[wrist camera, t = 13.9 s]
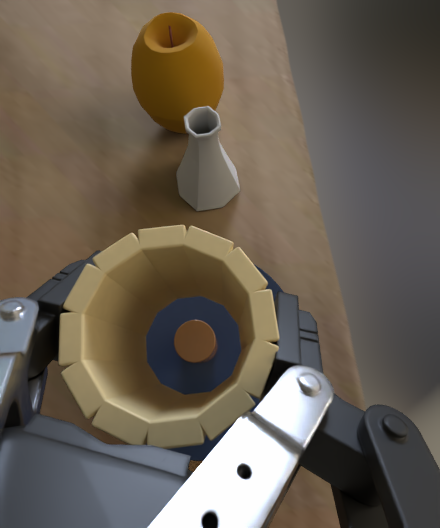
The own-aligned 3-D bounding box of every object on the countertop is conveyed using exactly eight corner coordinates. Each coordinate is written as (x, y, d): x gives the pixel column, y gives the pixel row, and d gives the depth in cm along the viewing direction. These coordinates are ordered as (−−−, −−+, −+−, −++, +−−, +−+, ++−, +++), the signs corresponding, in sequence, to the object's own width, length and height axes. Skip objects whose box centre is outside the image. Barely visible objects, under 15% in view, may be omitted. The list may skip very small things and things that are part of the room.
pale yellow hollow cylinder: (177, 438, 15) (132, 506, 8) (110, 330, 16) (19, 304, 9) (279, 356, 16) (323, 350, 9) (207, 262, 17) (194, 189, 10)
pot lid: (176, 506, 22) (158, 559, 16) (69, 326, 25) (21, 314, 19) (341, 367, 24) (378, 368, 18) (221, 221, 28) (220, 182, 22)
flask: (193, 222, 36) (182, 171, 27) (166, 171, 38) (146, 107, 29) (250, 195, 37) (260, 135, 27) (221, 146, 39) (220, 76, 29)
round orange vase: (135, 100, 41) (102, 1, 30) (208, 78, 42) (201, -27, 31) (159, 162, 38) (131, 79, 27) (235, 137, 39) (240, 47, 28)
